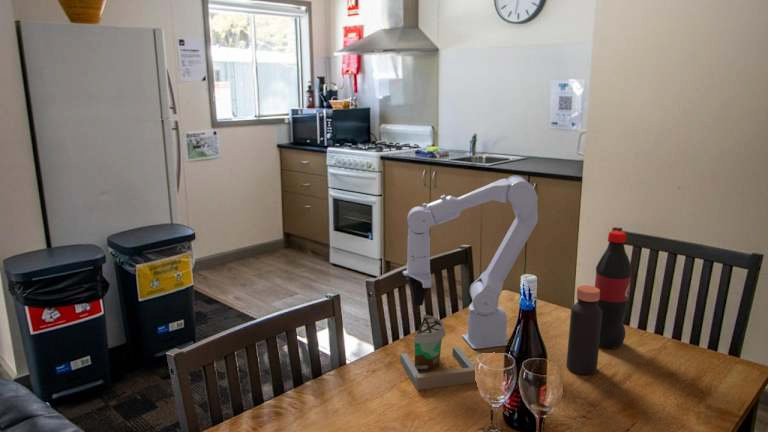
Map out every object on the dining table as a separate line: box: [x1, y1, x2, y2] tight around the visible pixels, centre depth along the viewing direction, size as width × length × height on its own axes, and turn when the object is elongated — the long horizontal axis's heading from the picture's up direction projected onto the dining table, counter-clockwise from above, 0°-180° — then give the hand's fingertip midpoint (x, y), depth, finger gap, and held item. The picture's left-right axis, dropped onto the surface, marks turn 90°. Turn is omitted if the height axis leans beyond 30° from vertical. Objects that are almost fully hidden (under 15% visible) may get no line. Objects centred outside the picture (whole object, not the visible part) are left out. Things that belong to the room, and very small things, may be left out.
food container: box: [413, 314, 446, 373], centre depth 132 cm, size 12×6×10 cm, turn 166°
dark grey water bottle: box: [566, 284, 602, 376], centre depth 129 cm, size 7×7×20 cm
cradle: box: [399, 346, 476, 391], centre depth 129 cm, size 15×14×3 cm
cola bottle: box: [594, 230, 633, 349], centre depth 140 cm, size 8×8×30 cm
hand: (418, 304), depth 143 cm, fingers closed
